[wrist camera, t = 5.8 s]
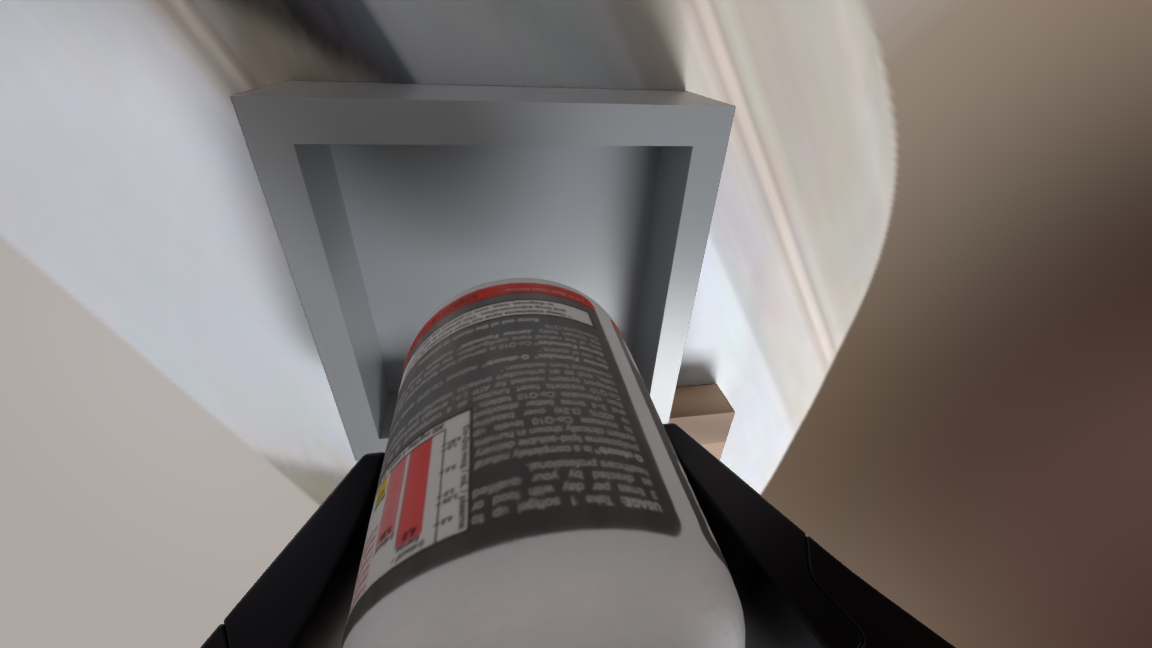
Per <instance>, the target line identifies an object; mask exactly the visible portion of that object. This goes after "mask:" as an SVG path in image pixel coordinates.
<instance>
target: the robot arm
mask: <svg viewBox="0 0 1152 648" xmlns="http://www.w3.org/2000/svg"><path fill="white" fill-rule="evenodd" d="M663 426H664V428H665V430H666V432H667V434H668V436H669V439H670V441H671V443H672V445H673V448H674V450H675V452H676V454H677V457H678V459H679V461H680V463H681V466H682V468H683V470H684V472H685V474H686V476H687V479H688V482H689V484H690V486H691V488H692V490H693V492H694V494H695V497H696V499H697V501H698V504H699V506H700V508H701V510H702V512H703V514H704V516H705V518H706V520H707V523H708V525H709V527H710V529H711V531H712V534H713V536H714V538H715V540H716V542H717V544H718V546H719V548H720V551H721V553H722V555H723V558H724V559H725V561H726V563H727V566H728V569H729V571H730V574H731V577H732V580H733V583H734V585H735V588H736V591H737V593H738V596H739V599H740V602H741V606H742V610H743V616H744V623H745V648H956V647H954V646H953V645H951V644H950V643H948V642H947V641H946V640H944V639H943V638H942V637H940V636H939V635H937V634H936V633H935V632H933V631H932V630H931V629H929V628H928V627H926V626H925V625H924V624H922V623H921V622H920V621H918V620H917V619H916V618H914V617H913V616H911V615H910V614H909V613H907V612H906V611H904V610H903V609H902V608H900V607H899V606H898V605H896V604H895V603H894V602H892V601H891V600H889V599H888V598H887V597H885V596H884V595H883V594H881V593H880V592H878V591H877V590H876V589H875V588H873V587H872V586H871V585H869V584H868V583H867V582H865V581H864V580H863V579H861V578H860V577H859V576H857V575H856V574H855V573H853V572H852V571H851V570H849V569H848V568H847V567H846V566H844V565H843V564H842V563H841V562H840V561H838V560H837V559H836V558H835V557H833V556H832V555H831V554H830V553H829V552H827V551H826V550H825V549H823V547H821V546H820V545H819V544H818V543H817V542H815V541H814V540H813V539H812V538H811V537H809V536H806V535H805V533H804V532H803V531H802V530H801V529H800V528H798V527H797V526H796V525H795V524H794V523H793V522H791V521H790V520H789V519H788V518H787V517H786V516H784V515H783V514H782V513H781V512H780V511H779V510H777V509H776V508H775V507H774V506H773V505H772V504H770V503H769V502H768V501H767V500H766V499H764V498H763V497H762V496H761V495H760V494H759V493H757V492H756V491H755V490H754V489H753V488H751V487H750V486H749V485H748V484H747V483H746V482H744V481H743V480H742V479H741V478H740V477H738V476H737V475H736V474H735V473H734V472H733V471H731V470H730V469H729V468H728V467H727V466H725V465H724V464H723V463H722V462H721V461H720V460H718V459H717V458H716V457H715V456H714V455H712V454H711V453H710V452H709V451H708V450H707V449H705V448H704V447H703V446H702V445H701V444H699V443H698V442H697V441H696V440H695V439H694V438H692V437H691V436H690V435H689V434H688V433H686V432H685V431H684V430H683V429H682V428H681V427H679V426H678V425H677V424H675V423H667V424H663ZM384 456H385V452H378V453H368V454H365V455H364V456H362V457H361V459H360V460H359V461H358V462H357V463H356V465H355V466H354V467H353V468H352V469H351V470H350V472H349V473H348V474H347V475H346V476H345V478H344V479H343V480H342V481H341V482H340V483H339V485H338V486H337V487H336V488H335V489H334V491H333V492H332V493H331V494H330V495H329V496H328V498H327V499H326V500H325V501H324V502H323V504H322V505H321V506H320V507H319V508H318V510H317V511H316V512H315V513H314V514H313V515H312V517H311V518H310V519H309V520H308V521H307V522H306V524H305V525H304V526H303V527H302V528H301V530H300V531H299V532H298V533H297V534H296V535H295V537H294V538H293V539H292V540H291V541H290V543H289V544H288V545H287V546H286V547H285V549H284V550H283V551H282V552H281V553H280V554H279V556H278V557H277V558H276V559H275V561H273V563H272V564H271V565H270V566H269V567H268V569H267V570H266V571H265V572H264V573H263V574H262V576H261V577H260V578H259V579H258V580H257V582H256V583H255V584H254V585H253V586H252V588H251V589H250V590H249V591H248V592H247V593H246V595H245V596H244V597H243V598H242V599H241V601H240V602H239V603H238V604H237V605H236V607H235V608H234V609H233V610H232V611H231V613H230V614H229V615H228V616H227V617H226V618H225V620H224V624H221V625H219V626H218V627H217V629H216V630H215V631H214V632H213V633H212V635H211V636H210V637H209V638H208V639H207V640H206V642H205V643H204V644H203V645H202V647H201V648H341V647H342V641H343V636H344V631H345V627H346V623H347V619H348V615H349V611H350V607H351V602H352V598H353V593H354V589H355V584H356V579H357V575H358V571H359V566H360V562H361V558H362V554H363V549H364V544H365V540H366V535H367V531H368V526H369V521H370V517H371V513H372V509H373V504H374V500H375V495H376V491H377V487H378V482H379V478H380V473H381V469H382V465H383V460H384Z"/></svg>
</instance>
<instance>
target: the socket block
mask: <svg viewBox="0 0 1152 648" xmlns="http://www.w3.org/2000/svg"><path fill="white" fill-rule="evenodd" d="M734 414H735V411H734V410H733V408H732V407H731V405H730V404H729V402H728V400H727V399H726V397H725V396H724V394H723V393H722V391H721V390H720V388H719V387H718V385H717V384H709V385H698V386H686V387H676V390H675V394H674V399H673V404H672V408H671V413H670V418H669V422H668V423H675V424H677V425H678V426H679V427H681V428H682V429H683V430H684V431H685V432H686V433H688V434H689V435H690V436H691V437H692V438H694V439H695V440H696V441H697V442H698V443H699V444H701V445H702V446H703V447H704V448H705V449H707V450H708V451H709V452H710V453H711V454H712V455H714V456H715V457H716V458H717V459H718V460H720V457H721V454H722V451H723V448H724V445H725V442H726V439H727V436H728V432H729V429H730V426H731V423H732V420H733V417H734Z"/></svg>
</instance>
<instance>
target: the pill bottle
mask: <svg viewBox="0 0 1152 648" xmlns="http://www.w3.org/2000/svg"><path fill="white" fill-rule="evenodd" d="M341 648H745V623H744V616H743V610H742V606H741V602H740V599H739V596H738V593H737V591H736V588H735V585H734V583H733V580H732V577H731V574H730V571H729V569H728V566H727V563H726V561H725V559H724V558H723V555H722V553H721V551H720V548H719V546H718V544H717V542H716V540H715V538H714V536H713V534H712V531H711V529H710V527H709V525H708V523H707V520H706V518H705V516H704V514H703V512H702V510H701V508H700V506H699V504H698V501H697V499H696V497H695V494H694V492H693V490H692V488H691V486H690V484H689V482H688V479H687V476H686V474H685V472H684V470H683V468H682V466H681V463H680V461H679V459H678V457H677V454H676V452H675V450H674V448H673V445H672V443H671V441H670V439H669V436H668V434H667V432H666V430H665V428H664V426H663V424H662V421H661V419H660V417H659V415H658V412H657V410H656V408H655V406H654V404H653V401H652V399H651V397H650V395H649V393H648V390H647V388H646V386H645V384H644V381H643V379H642V377H641V375H640V373H639V370H638V368H637V366H636V364H635V362H634V360H633V357H632V355H631V353H630V351H629V349H628V347H627V344H626V342H625V340H624V338H623V335H622V334H621V332H620V330H619V329H618V327H617V325H616V324H615V322H614V321H613V320H612V318H611V317H610V316H609V314H608V313H607V312H606V311H605V310H604V309H603V308H602V307H601V306H600V305H599V304H598V303H596V302H595V301H594V300H593V299H591V298H590V297H588V296H587V295H585V294H583V293H582V292H580V291H578V290H576V289H574V288H572V287H569V286H567V285H564V284H561V283H557V282H554V281H549V280H544V279H536V278H508V279H502V280H495V281H491V282H487V283H484V284H480V285H477V286H475V287H472V288H470V289H467V290H465V291H463V292H461V293H459V294H458V295H456V296H454V297H452V298H451V299H450V300H448V301H447V302H445V303H444V304H443V305H441V306H440V307H439V308H438V309H436V311H435V312H434V313H433V314H432V315H431V316H430V317H429V318H428V319H427V320H426V321H425V323H424V324H423V325H422V327H421V328H420V329H419V331H418V333H417V334H416V336H415V338H414V340H413V342H412V345H411V347H410V350H409V353H408V355H407V358H406V361H405V365H404V370H403V375H402V381H401V385H400V388H399V392H398V398H397V403H396V408H395V412H394V416H393V421H392V425H391V429H390V434H389V438H388V443H387V447H386V451H385V456H384V460H383V465H382V469H381V473H380V478H379V482H378V487H377V491H376V495H375V500H374V504H373V509H372V513H371V517H370V521H369V526H368V531H367V535H366V540H365V544H364V549H363V554H362V558H361V562H360V566H359V571H358V575H357V579H356V584H355V589H354V593H353V598H352V602H351V607H350V611H349V615H348V619H347V623H346V627H345V631H344V636H343V641H342V647H341Z"/></svg>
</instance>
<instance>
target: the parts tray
mask: <svg viewBox="0 0 1152 648" xmlns="http://www.w3.org/2000/svg"><path fill="white" fill-rule="evenodd" d="M230 97H231V100H232V103H233V106H234V109H235V112H236V115H237V118H238V120H239V123H240V126H241V129H242V132H243V135H244V138H245V141H246V144H247V147H248V150H249V152H250V155H251V158H252V161H253V164H254V167H255V170H256V173H257V176H258V179H259V181H260V184H261V187H262V190H263V193H264V196H265V199H266V202H267V205H268V208H269V211H270V213H271V216H272V219H273V222H274V225H275V228H276V231H277V234H278V237H279V240H280V242H281V245H282V248H283V251H284V254H285V257H286V260H287V263H288V266H289V269H290V271H291V274H292V277H293V280H294V283H295V286H296V289H297V292H298V295H299V298H300V301H301V303H302V306H303V309H304V312H305V315H306V318H307V321H308V324H309V327H310V330H311V332H312V335H313V338H314V341H315V344H316V347H317V350H318V353H319V356H320V359H321V362H322V364H323V367H324V370H325V373H326V376H327V379H328V382H329V385H330V388H331V391H332V393H333V396H334V399H335V402H336V405H337V408H338V411H339V414H340V417H341V420H342V423H343V425H344V428H345V431H346V434H347V437H348V440H349V443H350V446H351V449H352V452H353V454H354V457H355V460H356V461H358V460H360V459H361V457H362V456H364V455H365V454H368V453H378V452H385V451H386V447H387V443H388V438H389V434H390V429H391V425H392V421H393V416H394V412H395V408H396V403H397V398H398V392H399V388H400V385H401V381H402V375H403V370H404V365H405V361H406V358H407V355H408V353H409V350H410V347H411V345H412V342H413V340H414V338H415V336H416V334H417V333H418V331H419V329H420V328H421V327H422V325H423V324H424V323H425V321H426V320H427V319H428V318H429V317H430V316H431V315H432V314H433V313H434V312H435V311H436V309H438V308H439V307H440V306H441V305H443V304H444V303H445V302H447V301H448V300H450V299H451V298H452V297H454V296H456V295H458V294H459V293H461V292H463V291H465V290H467V289H470V288H472V287H475V286H477V285H480V284H484V283H487V282H491V281H495V280H502V279H508V278H536V279H544V280H549V281H554V282H557V283H561V284H564V285H567V286H569V287H572V288H574V289H576V290H578V291H580V292H582V293H583V294H585V295H587V296H588V297H590V298H591V299H593V300H594V301H595V302H596V303H598V304H599V305H600V306H601V307H602V308H603V309H604V310H605V311H606V312H607V313H608V314H609V316H610V317H611V318H612V320H613V321H614V322H615V324H616V325H617V327H618V329H619V330H620V332H621V334H622V335H623V338H624V340H625V342H626V344H627V347H628V349H629V351H630V353H631V355H632V357H633V360H634V362H635V364H636V366H637V368H638V370H639V373H640V375H641V377H642V379H643V381H644V384H645V386H646V388H647V390H648V393H649V395H650V397H651V399H652V401H653V404H654V406H655V408H656V410H657V412H658V415H659V417H660V419H661V421H662V424H667V423H668V422H669V418H670V413H671V408H672V404H673V399H674V394H675V390H676V385H677V380H678V375H679V371H680V366H681V361H682V357H683V352H684V347H685V343H686V338H687V333H688V328H689V324H690V319H691V314H692V310H693V305H694V300H695V296H696V291H697V286H698V281H699V277H700V272H701V267H702V263H703V258H704V253H705V248H706V244H707V239H708V234H709V230H710V225H711V220H712V216H713V211H714V206H715V201H716V197H717V192H718V187H719V183H720V178H721V173H722V169H723V164H724V159H725V154H726V150H727V145H728V140H729V136H730V131H731V126H732V122H733V117H734V112H735V107H736V106H733V105H730V104H727V103H723V102H720V101H717V100H714V99H711V98H707V97H704V96H701V95H698V94H695V93H691V92H688V91H668V90H630V89H592V88H554V87H516V86H478V85H441V84H403V83H365V82H327V81H289V80H288V81H284V82H280V83H276V84H273V85H269V86H265V87H261V88H257V89H254V90H250V91H246V92H242V93H239V94H235V95H231V96H230Z"/></svg>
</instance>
